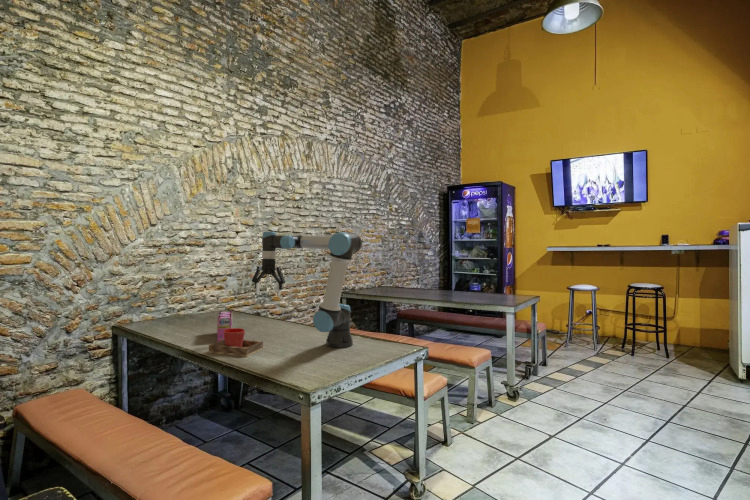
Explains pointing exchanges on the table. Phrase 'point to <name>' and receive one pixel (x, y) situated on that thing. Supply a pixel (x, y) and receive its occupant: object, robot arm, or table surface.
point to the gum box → (223, 324)
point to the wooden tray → (236, 348)
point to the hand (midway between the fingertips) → (268, 294)
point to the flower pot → (234, 337)
